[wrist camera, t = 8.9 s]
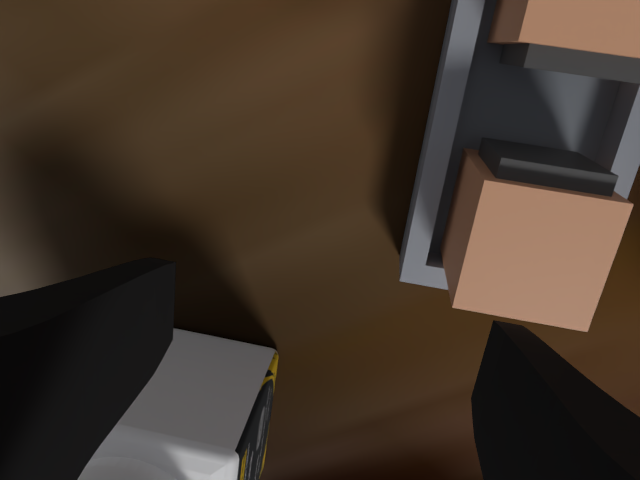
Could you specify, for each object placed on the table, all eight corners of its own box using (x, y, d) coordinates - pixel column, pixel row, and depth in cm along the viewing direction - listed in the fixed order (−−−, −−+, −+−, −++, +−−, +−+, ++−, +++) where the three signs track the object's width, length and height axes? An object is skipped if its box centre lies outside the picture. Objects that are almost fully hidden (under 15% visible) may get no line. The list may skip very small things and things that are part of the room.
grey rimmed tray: (480, -140, 17) (520, -231, 11) (699, -116, 16) (854, -199, 11) (399, 256, 22) (400, 327, 16) (565, 285, 21) (624, 369, 16)
